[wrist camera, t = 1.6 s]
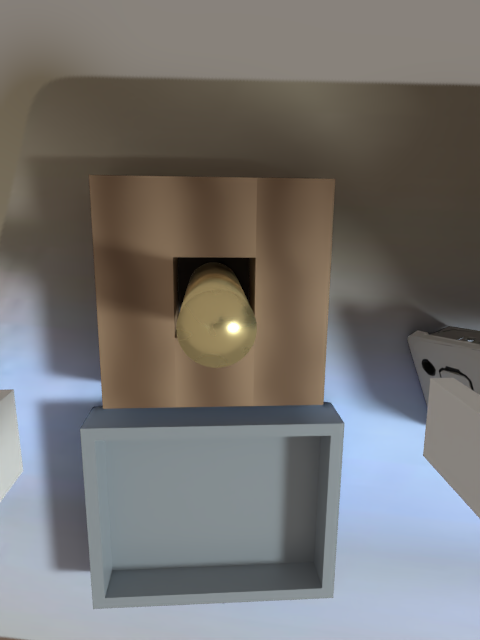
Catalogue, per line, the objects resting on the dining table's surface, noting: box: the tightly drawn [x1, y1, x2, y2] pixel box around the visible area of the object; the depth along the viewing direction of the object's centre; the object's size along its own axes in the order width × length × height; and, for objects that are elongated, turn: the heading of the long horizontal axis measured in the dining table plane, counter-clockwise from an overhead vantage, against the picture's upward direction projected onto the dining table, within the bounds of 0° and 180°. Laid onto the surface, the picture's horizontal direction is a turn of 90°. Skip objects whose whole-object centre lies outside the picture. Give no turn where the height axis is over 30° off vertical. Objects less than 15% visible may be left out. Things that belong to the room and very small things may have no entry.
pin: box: [176, 262, 257, 368], centre depth 29 cm, size 4×4×14 cm
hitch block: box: [89, 175, 335, 409], centre depth 34 cm, size 16×16×5 cm
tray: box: [80, 403, 344, 609], centre depth 38 cm, size 20×16×4 cm
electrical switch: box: [408, 326, 480, 407], centre depth 35 cm, size 9×5×9 cm, turn 21°
